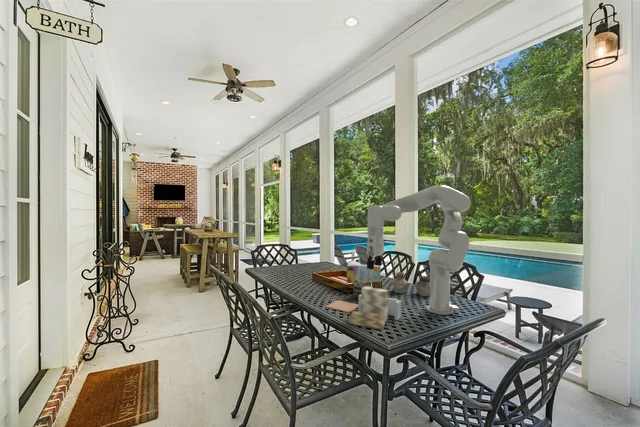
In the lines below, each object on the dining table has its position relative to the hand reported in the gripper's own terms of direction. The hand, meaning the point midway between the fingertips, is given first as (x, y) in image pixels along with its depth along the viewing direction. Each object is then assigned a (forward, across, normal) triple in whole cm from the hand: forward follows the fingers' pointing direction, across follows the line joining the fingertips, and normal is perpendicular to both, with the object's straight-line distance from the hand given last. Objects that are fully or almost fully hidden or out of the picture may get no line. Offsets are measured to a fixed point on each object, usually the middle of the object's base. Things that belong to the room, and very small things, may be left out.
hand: (374, 267), depth 145 cm
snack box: (+25, +43, +26) cm, 56 cm away
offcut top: (+22, -9, 0) cm, 24 cm away
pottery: (+24, +50, -4) cm, 56 cm away
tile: (+25, +5, +20) cm, 32 cm away
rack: (+25, +7, 0) cm, 25 cm away
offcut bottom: (+25, -9, 0) cm, 27 cm away
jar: (+25, +24, +18) cm, 39 cm away
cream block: (+25, 0, 0) cm, 25 cm away
